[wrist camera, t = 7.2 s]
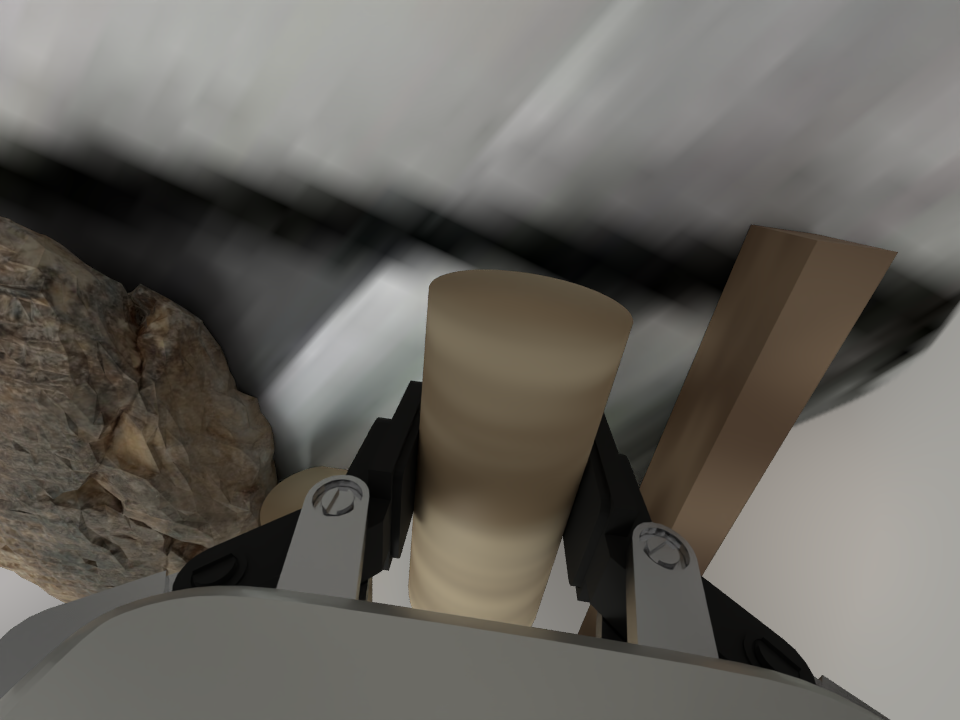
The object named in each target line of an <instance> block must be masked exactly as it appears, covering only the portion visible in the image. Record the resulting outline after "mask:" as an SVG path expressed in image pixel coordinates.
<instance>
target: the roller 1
mask: <svg viewBox="0 0 960 720" xmlns="http://www.w3.org/2000/svg"><path fill="white" fill-rule="evenodd" d="M347 472H348V470H344V469H337V468H331V467H324V466H319V467H313V468H309V469H306V470H303V471H300V472H297V473H295V474H293V475H291V476H289V477H287V478H286V479H284V480H283V481H281V482H280V483H279V484H278V485H276V486H275V487H274V488H273V489H272V490H271V492H270V493H269V494H268V495H267V497H266V499H265V500H264V502H263V505H262V507H261V511H260V521H261V526H262V525H264V524H266V523H269V522H271V521H273V520H276V519H278V518H280V517H283V516H285V515H287V514H290V513H292V512H294V511H297V510H299V509H301V508H302V506H303V503H304V500H305V497H306V495H307V493H308V492H309V490H310V489H311V488H312V487H313V486H314V485H315V484H316V483H318V482H320V481H321V480H323V479H325V478H328V477H331V476H336V475H346V473H347ZM368 601H369V602H372V577H371V578H370V582H369V591H368Z"/></svg>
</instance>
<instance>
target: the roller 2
mask: <svg viewBox="0 0 960 720" xmlns="http://www.w3.org/2000/svg"><path fill="white" fill-rule="evenodd" d="M632 325H633V318H632V316H631V314H630V313H629V312H628V310H627V309H626V308H624V307H623V306H622V305H621V304H619V303H618V302H616V301H615V300H613V299H611V298H609V297H607V296H605V295H603V294H601V293H599V292H597V291H594V290H592V289H589V288H586V287H583V286H581V285H577V284H574V283H571V282H567V281H564V280H560V279H556V278H551V277H547V276H542V275H536V274H530V273H523V272H515V271H505V270H466V271H458V272H453V273H449V274H445V275H442V276H440V277H438V278H436V279H435V280H433V281H432V282H431V284H430V286H429V295H428V309H427V324H426V338H425V353H424V367H423V381H422V396H421V410H420V425H419V441H418V456H417V470H416V484H415V499H414V512H413V527H412V541H411V556H410V570H409V584H408V588H409V598H410V603H411V606H412V608H414V609H421V610H427V611H434V612H440V613H447V614H453V615H459V616H465V617H472V618H478V619H484V620H491V621H497V622H503V623H510V624H516V625H522V626H528V627H531V626H532V624H533V622H534V620H535V618H536V614H537V612H538V609H539V606H540V603H541V600H542V596H543V593H544V591H545V588H546V585H547V582H548V578H549V576H550V572H551V569H552V566H553V563H554V560H555V557H556V554H557V551H558V548H559V545H560V542H561V539H562V536H563V533H564V530H565V527H566V524H567V521H568V518H569V515H570V512H571V509H572V506H573V503H574V500H575V497H576V494H577V491H578V488H579V485H580V482H581V479H582V476H583V473H584V470H585V467H586V464H587V461H588V458H589V455H590V452H591V449H592V446H593V443H594V440H595V437H596V434H597V430H598V427H599V424H600V421H601V418H602V415H603V412H604V409H605V406H606V403H607V400H608V397H609V394H610V391H611V388H612V385H613V382H614V379H615V376H616V373H617V370H618V367H619V364H620V361H621V358H622V355H623V352H624V349H625V346H626V343H627V340H628V337H629V334H630V331H631V328H632Z"/></svg>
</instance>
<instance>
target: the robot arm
mask: <svg viewBox="0 0 960 720" xmlns="http://www.w3.org/2000/svg"><path fill="white" fill-rule="evenodd" d="M421 396H422V382H417V381H410V383H409V385H408V387H407V389H406V391H405V393H404V395H403V397H402V399H401V401H400V403H399V406H398V408H397V410H396V412H395V414H394V416H393V418H392V419H386V418H380V417H378V418H377V419H376V420H375V422H374V424H373V426H372V427H371V429H370V431H369V433H368V435H367V437H366V438H365V440H364V442H363V444H362V446H361V448H360V449H359V451H358V453H357V455H356V457H355V459H354V460H353V462H352V464H351V466H350V468H349V470H348V472H347V473H346V475H336V476H331V477H328V478H325V479H323V480H321V481H320V482H318V483H316V484H315V485H314V486H313V487H312V488H311V489H310V490H309V492H308V493H307V495H306V497H305V500H304V503H303V506H302V508H301V509H299V510H297V511H294V512H292V513H290V514H287V515H285V516H283V517H280V518H278V519H276V520H273V521H271V522H269V523H266V524H264V525H262V526H260V527H257V528H255V529H253V530H250V531H248V532H246V533H243V534H241V535H239V536H236V537H234V538H232V539H229V540H227V541H225V542H222V543H220V544H218V545H216V546H213V547H211V548H209V549H207V550H205V551H203V552H201V553H199V554H198V555H196V556H195V557H194V558H192V559H191V560H190V561H189V562H188V563H186V564H185V566H184V567H183V568H182V569H181V570H180V572H177V573H174V574H171V575H168V573H167V571H163V572H159V573H156V574H153V575H150V576H147V577H144V578H141V579H138V580H135V581H132V582H129V583H126V584H123V585H120V586H117V587H114V588H111V589H108V590H104V591H101V592H98V593H95V594H92V595H89V596H86V597H83V598H80V599H77V600H74V601H71V602H68V603H65V604H62V605H59V606H56V607H53V608H50V609H47V610H44V611H42V612H40V613H38V614H35V615H34V616H31V617H29V618H27V619H26V620H24V621H23V622H21V623H20V624H18V625H17V626H15V627H13V628H12V629H11V630H10V631H8V632H7V633H6V634H5V635H4V636H3V637H2V638H1V639H0V720H890V719H888V718H887V717H885V716H884V715H882V714H881V713H879V712H878V711H876V710H874V709H873V708H872V707H870V706H869V705H867V704H866V703H864V702H863V701H861V700H859V699H858V698H857V697H855V696H854V695H852V694H850V693H849V692H847V691H846V690H844V689H843V688H841V687H840V686H838V685H837V684H835V683H834V682H832V681H831V680H829V679H828V678H826V677H824V676H823V675H822V676H821V677H820V678H819V679H817V678H816V677H814V676H813V674H812V672H811V671H810V669H809V667H808V666H807V664H806V662H805V661H804V660H803V659H802V657H801V656H800V655H799V654H798V653H797V651H796V650H795V649H794V648H793V647H791V646H790V645H789V644H788V643H787V642H786V641H785V640H784V639H782V638H781V637H780V636H779V635H777V634H776V633H774V632H773V631H772V630H771V629H769V628H768V627H767V626H766V625H764V624H763V623H762V622H760V621H759V620H758V619H757V618H755V617H754V616H753V615H751V614H750V613H749V612H747V611H746V610H745V609H744V608H742V607H741V606H740V605H738V604H737V603H736V602H735V601H733V600H732V599H731V598H729V597H728V596H727V595H725V594H724V593H723V592H722V591H720V590H719V589H718V588H716V587H715V586H714V585H712V584H711V583H710V582H709V581H707V580H706V579H705V578H703V577H702V576H701V575H700V570H699V566H698V561H697V558H696V555H695V552H694V550H693V549H692V547H691V546H690V544H689V543H688V542H687V541H686V540H685V539H684V538H683V537H682V536H681V535H680V534H678V533H677V532H675V531H674V530H672V529H671V528H669V527H666V526H664V525H662V524H658V523H653V522H652V520H651V518H650V515H649V513H648V510H647V507H646V505H645V502H644V500H643V497H642V494H641V492H640V489H639V486H638V484H637V481H636V479H635V476H634V473H633V471H632V468H631V466H630V463H629V460H628V459H627V457H626V456H625V455H621V454H619V453H618V451H617V448H616V445H615V442H614V439H613V437H612V434H611V431H610V428H609V425H608V423H607V420H606V417H605V414H604V412H603V415H602V418H601V421H600V424H599V427H598V430H597V434H596V437H595V440H594V443H593V446H592V449H591V452H590V455H589V458H588V461H587V464H586V467H585V470H584V473H583V476H582V479H581V482H580V485H579V488H578V491H577V494H576V497H575V500H574V503H573V506H572V509H571V512H570V515H569V518H568V521H567V524H566V527H565V530H564V533H563V541H564V548H565V556H566V564H567V571H568V579H569V584H570V585H571V586H576V593H577V600H579V601H584V602H590V604H591V605H592V606H593V607H594V608H595V609H596V610H597V611H598V612H597V617H596V637H590V636H584V635H578V634H572V633H566V632H559V631H553V630H547V629H541V628H534V627H528V626H522V625H516V624H510V623H503V622H497V621H491V620H484V619H478V618H472V617H465V616H459V615H453V614H447V613H440V612H434V611H427V610H421V609H414V608H407V607H401V606H395V605H388V604H382V603H375V602H369V601H368V591H369V582H370V578H371V577H373V576H374V575H376V574H378V573H379V572H381V571H382V570H388V571H389V568H390V565H391V561H392V558H400V556H401V553H402V549H403V546H404V542H405V539H406V536H407V532H408V529H409V525H410V522H411V518H412V515H413V512H414V499H415V484H416V470H417V456H418V441H419V425H420V410H421Z"/></svg>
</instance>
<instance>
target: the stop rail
mask: <svg viewBox="0 0 960 720" xmlns="http://www.w3.org/2000/svg"><path fill="white" fill-rule="evenodd" d="M897 253H898V252H895V251H890V250H886V249H881V248H877V247H872V246H867V245H863V244H858V243H854V242H849V241H845V240H840V239H836V238H831V237H826V236H822V235H817V234H812V233H805V232H798V231H791V230H784V229H777V228H771V227H764V226H757V225H751V226H750V229H749V231H748V233H747V236H746V238H745V241H744V243H743V245H742V248H741V250H740V252H739V255H738V257H737V259H736V262H735V264H734V267H733V269H732V271H731V274H730V276H729V278H728V281H727V283H726V285H725V288H724V290H723V292H722V295H721V297H720V300H719V302H718V304H717V307H716V309H715V311H714V314H713V316H712V318H711V321H710V323H709V326H708V328H707V330H706V333H705V335H704V337H703V340H702V342H701V344H700V347H699V349H698V351H697V354H696V356H695V359H694V361H693V363H692V366H691V368H690V370H689V373H688V375H687V377H686V380H685V382H684V385H683V387H682V389H681V392H680V394H679V396H678V399H677V401H676V403H675V406H674V408H673V410H672V413H671V415H670V418H669V420H668V422H667V425H666V427H665V429H664V432H663V434H662V436H661V439H660V441H659V444H658V446H657V448H656V451H655V453H654V455H653V458H652V460H651V462H650V465H649V467H648V469H647V472H646V474H645V477H644V479H643V481H642V484H641V486H640V488H639V489H640V492H641V494H642V497H643V500H644V502H645V505H646V507H647V510H648V513H649V515H650V518H651V520H652V522H653V523H658V524H662V525H664V526H666V527H669V528H671V529H672V530H674V531H675V532H677V533H678V534H680V535H681V536H682V537H683V538H684V539H685V540H686V541H687V542H688V543H689V544H690V546H691V547H692V549H693V550H694V552H695V555H696V558H697V561H698V566H699V570H700V575H701V576H702V575H703V573H704V572H705V570H706V568H707V567H708V565H709V564H710V562H711V560H712V559H713V557H714V555H715V553H716V552H717V550H718V549H719V547H720V545H721V544H722V542H723V540H724V539H725V537H726V535H727V534H728V532H729V530H730V529H731V527H732V526H733V524H734V522H735V521H736V519H737V517H738V516H739V514H740V512H741V511H742V509H743V507H744V506H745V504H746V502H747V501H748V499H749V497H750V496H751V494H752V493H753V491H754V489H755V487H756V486H757V484H758V482H759V481H760V479H761V478H762V476H763V474H764V473H765V471H766V469H767V468H768V466H769V464H770V463H771V461H772V460H773V458H774V456H775V455H776V453H777V451H778V449H779V448H780V446H781V445H782V443H783V441H784V440H785V438H786V436H787V435H788V433H789V431H790V430H791V428H792V427H793V425H794V423H795V422H796V420H797V418H798V417H799V415H800V413H801V412H802V410H803V408H804V407H805V405H806V403H807V402H808V400H809V398H810V397H811V395H812V393H813V392H814V390H815V389H816V387H817V385H818V384H819V382H820V380H821V379H822V377H823V375H824V374H825V372H826V370H827V369H828V367H829V365H830V364H831V362H832V360H833V359H834V357H835V355H836V354H837V352H838V351H839V349H840V347H841V346H842V344H843V342H844V341H845V339H846V337H847V336H848V334H849V332H850V331H851V329H852V327H853V326H854V324H855V322H856V321H857V319H858V318H859V316H860V314H861V313H862V311H863V309H864V308H865V306H866V304H867V303H868V301H869V299H870V298H871V296H872V294H873V293H874V291H875V289H876V288H877V286H878V284H879V283H880V281H881V280H882V278H883V276H884V275H885V273H886V271H887V270H888V268H889V266H890V265H891V263H892V261H893V260H894V258H895V256H896V255H897ZM597 612H598V611H597V610H596V609H595V608H594V607H593V606H592V605H591V604H590V606H589V609H588V611H587V613H586V616H585V618H584V621H583V623H582V625H581V628H580V630H579V632H578V635H584V636H590V637H596V617H597Z"/></svg>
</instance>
